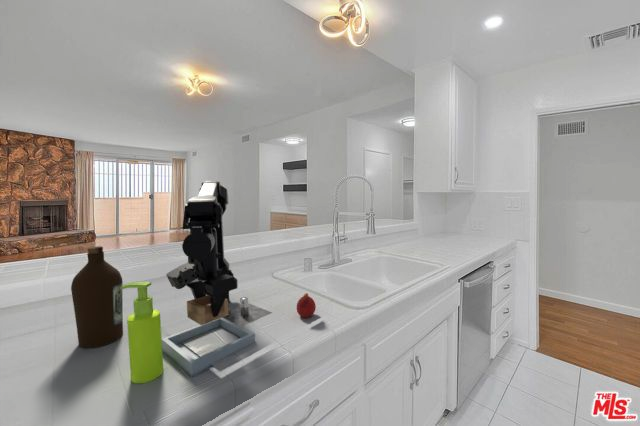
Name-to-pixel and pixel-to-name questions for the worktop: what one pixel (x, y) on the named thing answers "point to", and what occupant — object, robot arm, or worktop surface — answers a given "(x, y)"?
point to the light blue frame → (200, 364)
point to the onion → (306, 306)
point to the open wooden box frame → (204, 310)
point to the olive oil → (97, 301)
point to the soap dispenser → (144, 336)
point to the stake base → (246, 318)
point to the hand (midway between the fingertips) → (207, 312)
